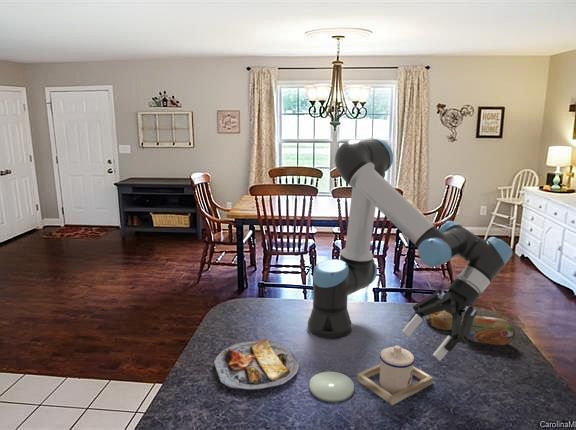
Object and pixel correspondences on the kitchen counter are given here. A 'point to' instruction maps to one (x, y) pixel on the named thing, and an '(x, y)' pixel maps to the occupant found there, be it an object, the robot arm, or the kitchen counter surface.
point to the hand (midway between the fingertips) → (419, 345)
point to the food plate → (256, 364)
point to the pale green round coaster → (331, 386)
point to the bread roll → (440, 320)
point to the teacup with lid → (396, 369)
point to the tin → (491, 331)
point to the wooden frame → (402, 394)
